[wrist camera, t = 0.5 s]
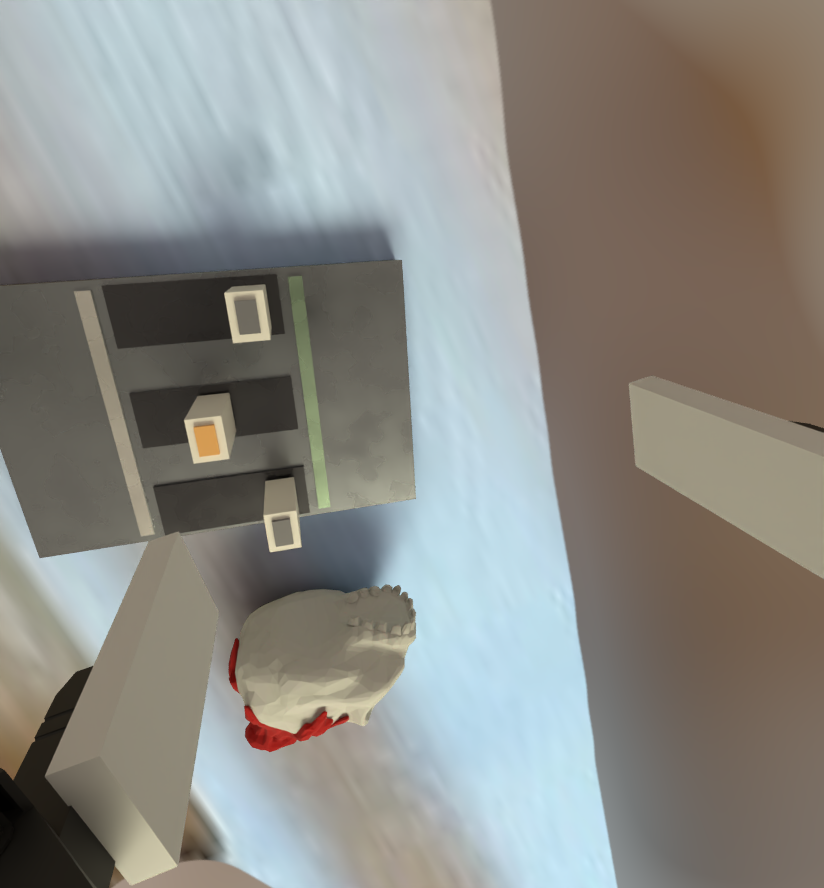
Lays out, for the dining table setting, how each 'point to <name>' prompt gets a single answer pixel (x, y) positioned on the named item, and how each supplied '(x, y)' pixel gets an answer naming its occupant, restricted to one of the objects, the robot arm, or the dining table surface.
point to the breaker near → (248, 313)
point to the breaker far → (281, 514)
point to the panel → (196, 374)
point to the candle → (319, 661)
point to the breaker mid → (210, 428)
